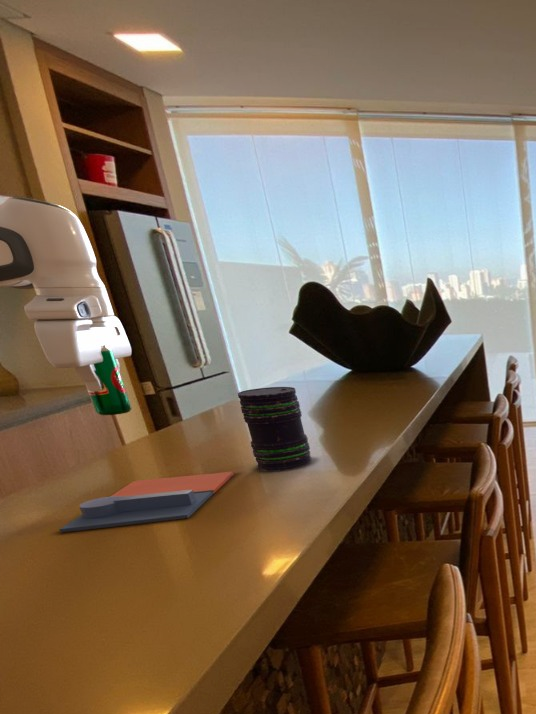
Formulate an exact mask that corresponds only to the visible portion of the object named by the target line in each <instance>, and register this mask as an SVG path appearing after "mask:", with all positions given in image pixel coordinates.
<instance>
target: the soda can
mask: <svg viewBox="0 0 536 714" xmlns="http://www.w3.org/2000/svg"><path fill="white" fill-rule="evenodd" d="M100 346H101V353H102V356H103V362H100V363H96V364H94V366H95V369H96V370H95V371H94V372H95V373H96V375H97V377H98V378H99V380H102V382H103V385H104V389H103V390H101V391H89V390H88V389H87V386H86V383H85V381H84V380H83V382H84V384H85V387H86V390H87V393H88V396H89V399H90V401H91V404H92V406H93V407H92V408H93V409H94V413H96V414H97V415H100V416H116V415H123V414H127V413H130V412H131V411H132V404H131V401H130V398H129V396H128V392H127V390H126V387H125V384H124V380H123V378H122V375H121V372H120V370H119V368H118V365H117V362H116V359H115V356H114V353H113V351H112V350H111V349H110V348H109V347H108V345H107V344H106V345H100Z"/></svg>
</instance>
